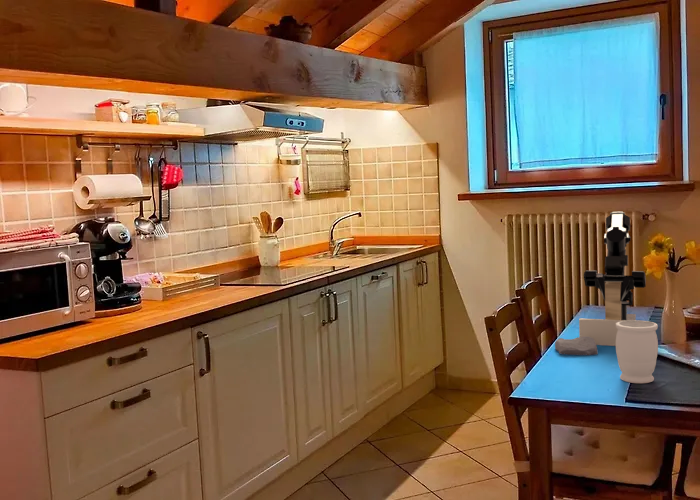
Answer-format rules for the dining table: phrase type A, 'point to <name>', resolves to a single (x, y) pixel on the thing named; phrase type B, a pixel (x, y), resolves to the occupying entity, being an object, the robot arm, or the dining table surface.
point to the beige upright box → (599, 330)
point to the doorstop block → (613, 301)
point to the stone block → (576, 346)
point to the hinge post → (631, 316)
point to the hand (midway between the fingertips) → (612, 300)
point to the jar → (636, 350)
